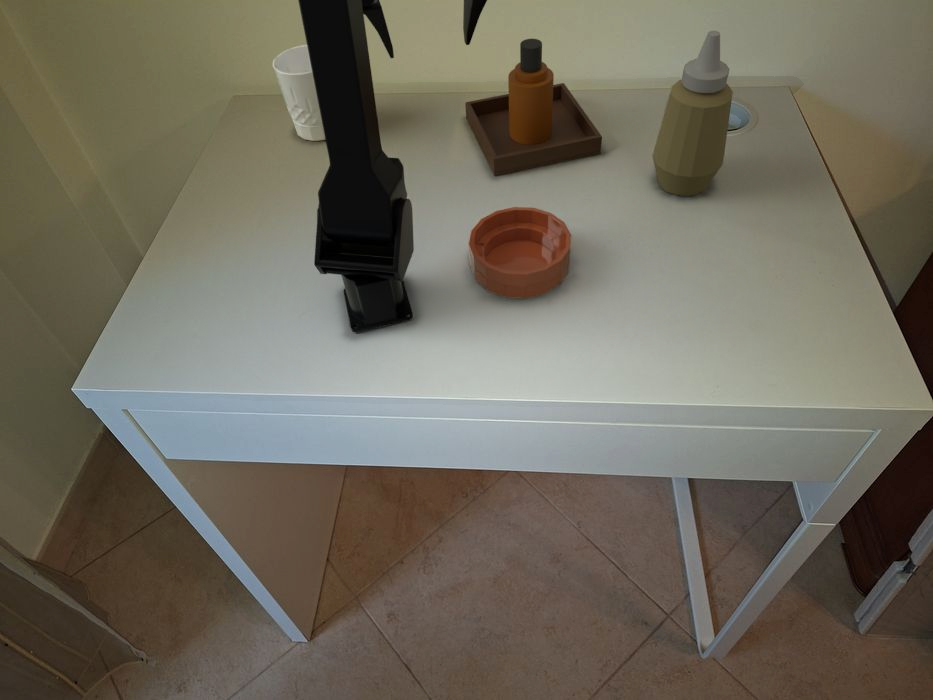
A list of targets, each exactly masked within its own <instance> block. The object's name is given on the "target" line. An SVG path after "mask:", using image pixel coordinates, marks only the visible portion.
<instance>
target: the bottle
mask: <svg viewBox="0 0 933 700" xmlns="http://www.w3.org/2000/svg"><path fill="white" fill-rule="evenodd" d="M519 52H520V53H519V56H520V57H519V61H520V62H518V63H517V64H515V67H514V68H513V69H511V71H510V72H509V73H508V76H507V79H508V80H507V82H508V94H509V134H510V137H511V138H512V139H513V140H514V141H516V142H518V143H521V144H529V145H530V144H538V143H542V142H544V141H546V140H547V139H548V138H549V137H550V136H551V134H552V109H553V85H554V79H555V77H554V72H553V70H552V69H551V68H549V67H548V65H547V64H546V62H543V43H542V40H540V39H538V38H525V39H523V40H522V41H520V45H519Z"/></svg>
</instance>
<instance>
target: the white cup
mask: <svg viewBox="0 0 933 700" xmlns="http://www.w3.org/2000/svg"><path fill="white" fill-rule="evenodd" d="M272 68H273V71H274V74H275V77H276V80H277V83H278V85H279V88H280V92H281V94H282V98H283V100H284V103H285V105H286V108H287V110H288V113H289V116H290V117H291V119H292V123H293V126H294V128H295V131H296V134H297V136H298V137H300V138H301V139H302V140H306V141H311V142H316V141H317V142H318V141H319V142H320V141H326V140H325V135H324V130H323V124H322V119H321V114H320V109H319V104H318V99H317V94H316V88H315V83H314V78H313V73H312V68H311V63H310V58H309V53H308V47H307V44H303V45H302V44H301V45H297V46H294V47H290V48H287V49H286V50H284V51H281V52H280V53H278V54H277V55H276V56H275V57H274V59H273V61H272Z"/></svg>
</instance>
